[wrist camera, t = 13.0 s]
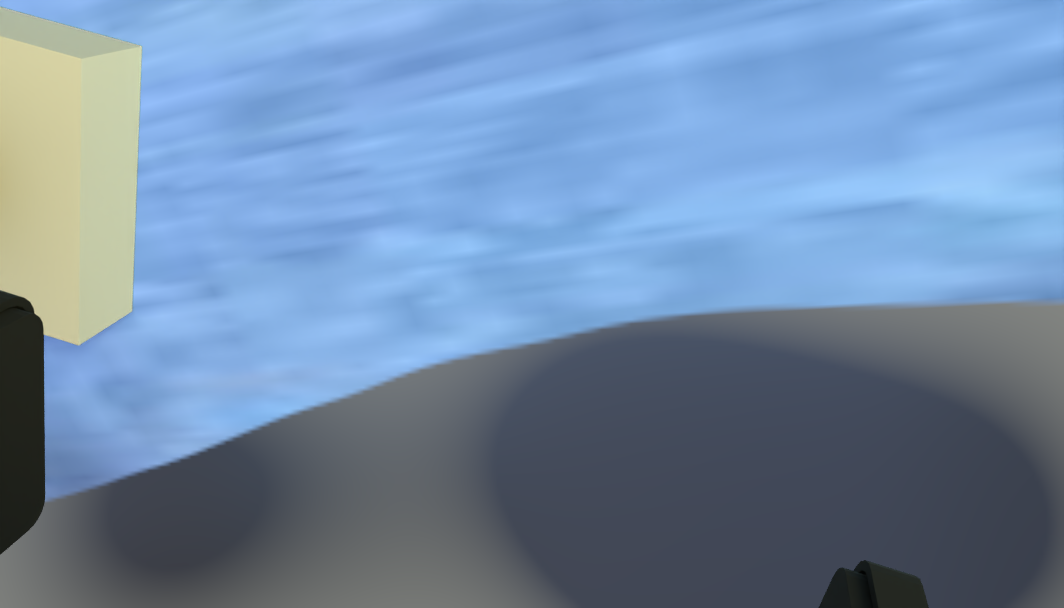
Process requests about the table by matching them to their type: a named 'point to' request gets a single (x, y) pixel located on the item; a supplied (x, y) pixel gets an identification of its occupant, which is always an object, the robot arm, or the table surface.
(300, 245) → the table surface
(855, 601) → the robot arm
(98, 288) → the plinth
